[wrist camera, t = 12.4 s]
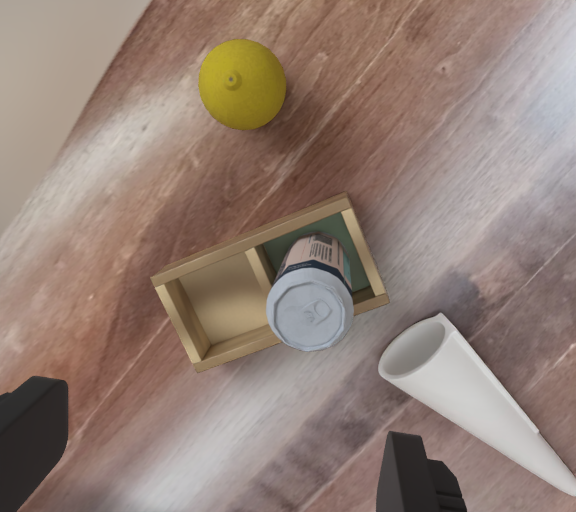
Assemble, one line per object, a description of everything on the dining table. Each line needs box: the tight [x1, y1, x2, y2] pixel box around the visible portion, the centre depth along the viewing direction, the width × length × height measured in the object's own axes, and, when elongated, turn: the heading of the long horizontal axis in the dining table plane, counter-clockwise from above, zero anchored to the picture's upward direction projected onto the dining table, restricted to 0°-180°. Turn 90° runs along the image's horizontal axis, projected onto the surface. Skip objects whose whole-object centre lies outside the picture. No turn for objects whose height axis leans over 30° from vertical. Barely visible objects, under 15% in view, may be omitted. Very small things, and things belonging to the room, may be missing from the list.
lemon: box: [198, 39, 286, 130], centre depth 33 cm, size 6×6×8 cm
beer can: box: [266, 231, 354, 352], centre depth 32 cm, size 5×5×12 cm
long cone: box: [378, 313, 576, 497], centre depth 39 cm, size 6×6×19 cm
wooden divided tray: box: [150, 191, 390, 373], centre depth 38 cm, size 8×15×4 cm, turn 113°
